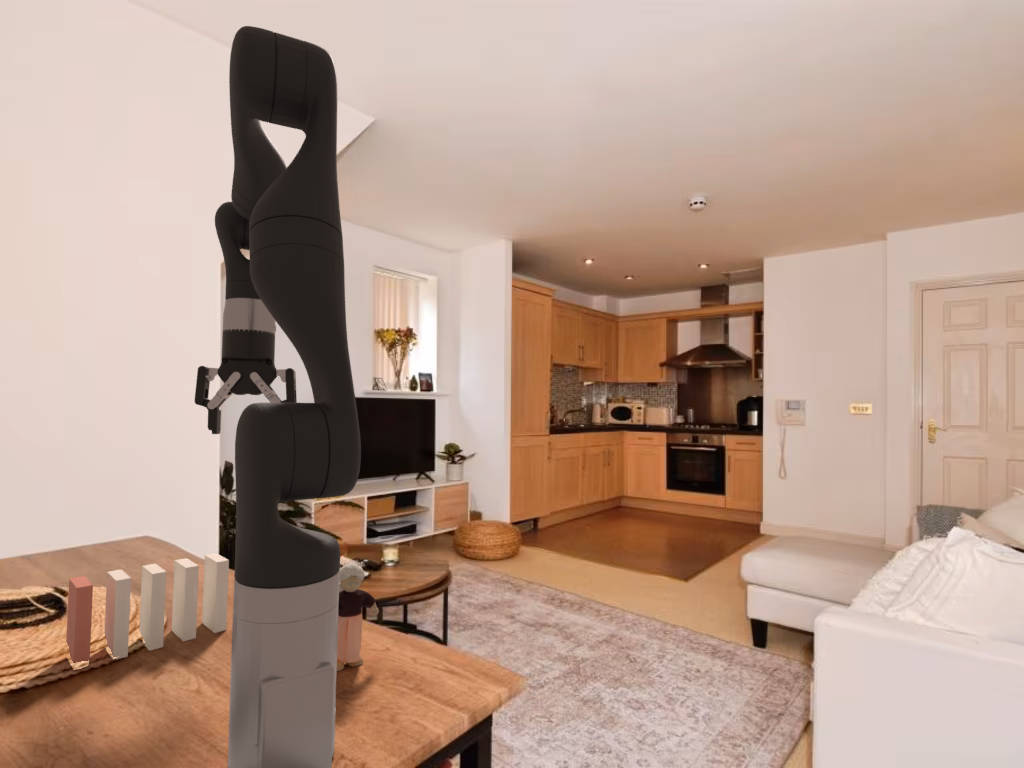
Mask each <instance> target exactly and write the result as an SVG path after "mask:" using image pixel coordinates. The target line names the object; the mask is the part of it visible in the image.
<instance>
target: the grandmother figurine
mask: <svg viewBox="0 0 1024 768" xmlns="http://www.w3.org/2000/svg"><path fill="white" fill-rule="evenodd" d="M365 576H366V573H365V571H364V569H363V568H362V566H359V565H358V564H355V563H353V562H350V563H347V564H344V565H343V566H342V567H340V577H339V582H340V583H341V587H342V589H343V591H341V592H339V604H338V638H337V671H336V672H340V671H342V670H343V669H345V663H346V664H347V666H349V667H357V666H361V665H363V664H364V658H363V657H362V656H361V654H360V653H361V649H362V637H363V630H362V629H363V612H362V609H363V608H368V610H369V611H370V615H372V616H378V614H379V612H380V611H379V608H378V607H377V604H376V598H375V597H374V596H373V595H372V594H370V593H369V592H367V591H365V590H362V589H359V588H360V586H361V585H362V581H363V580H364V579H365Z"/></svg>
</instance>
